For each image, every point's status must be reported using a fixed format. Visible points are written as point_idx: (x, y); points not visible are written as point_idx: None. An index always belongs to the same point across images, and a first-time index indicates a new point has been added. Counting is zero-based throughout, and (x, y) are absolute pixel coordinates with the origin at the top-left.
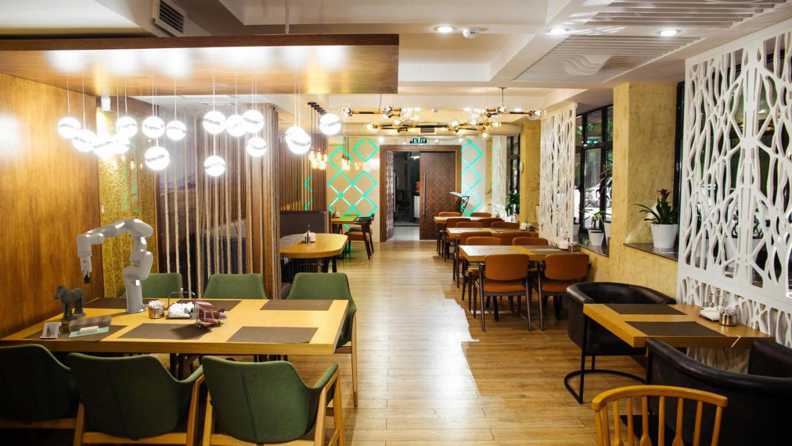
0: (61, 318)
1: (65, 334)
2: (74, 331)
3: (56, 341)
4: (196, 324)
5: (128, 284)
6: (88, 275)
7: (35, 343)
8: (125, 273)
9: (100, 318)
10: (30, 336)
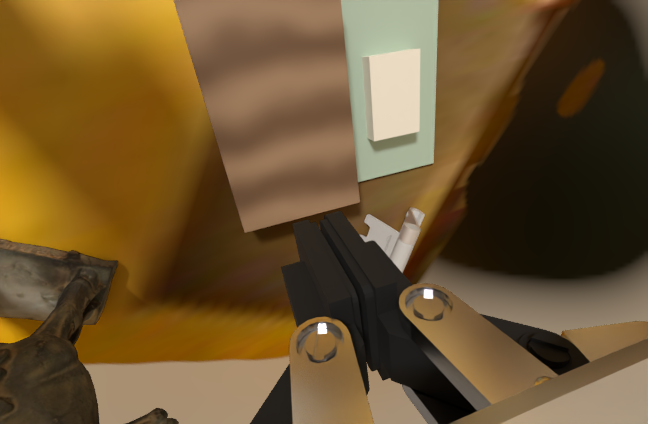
0: (91, 320)
1: (370, 195)
2: None
3: (453, 192)
4: None
5: None
6: (471, 319)
7: (436, 252)
8: None
9: (254, 66)
10: None
